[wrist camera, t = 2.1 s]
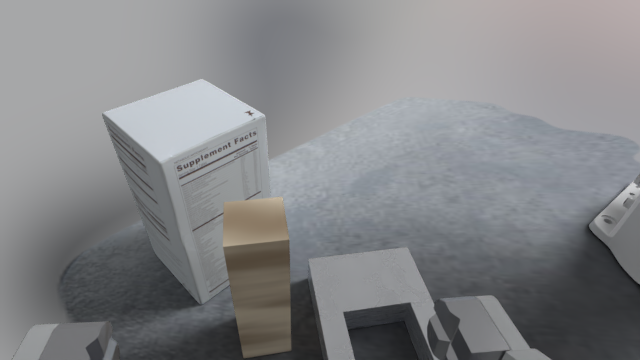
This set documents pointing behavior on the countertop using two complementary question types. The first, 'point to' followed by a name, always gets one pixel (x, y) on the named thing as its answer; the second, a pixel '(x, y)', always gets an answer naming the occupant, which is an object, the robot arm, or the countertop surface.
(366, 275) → the block with square hole
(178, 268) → the supplement box
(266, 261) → the square peg
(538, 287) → the countertop surface
